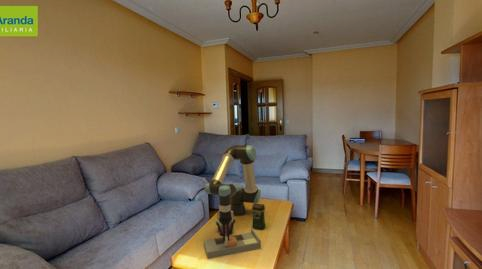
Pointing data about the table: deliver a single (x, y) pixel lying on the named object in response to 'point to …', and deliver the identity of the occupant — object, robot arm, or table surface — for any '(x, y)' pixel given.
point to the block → (232, 242)
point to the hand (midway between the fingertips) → (226, 245)
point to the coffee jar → (258, 216)
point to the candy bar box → (225, 225)
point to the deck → (243, 244)
